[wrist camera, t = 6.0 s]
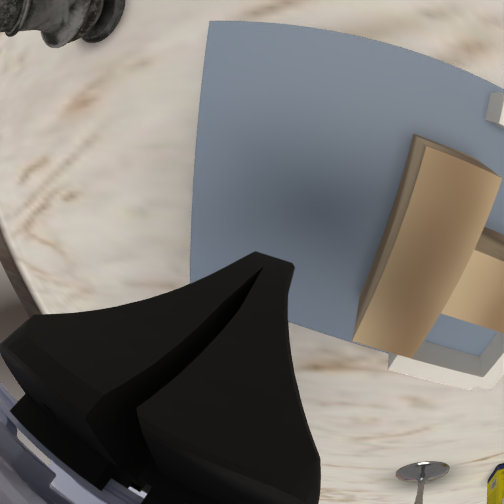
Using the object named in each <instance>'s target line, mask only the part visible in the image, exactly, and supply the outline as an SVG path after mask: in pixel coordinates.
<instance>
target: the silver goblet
mask: <svg viewBox="0 0 504 504" xmlns="http://www.w3.org/2000/svg"><path fill="white" fill-rule="evenodd" d="M449 469H450V468H449V466H448V465H447V464H445V463H442V462H420V463H415V464H410V465H407V466H405V467H402V468H400V469H399V470H398V471H397V472H396V477H397V478H398V479H400V480H402V481H406V482H418V491H417V496H416V500H415V503H414V504H423V490H424V484H425V482H426V481H431V480H435V479H437V478H440V477H442V476H444V475H445V474H447V473H448V471H449Z"/></svg>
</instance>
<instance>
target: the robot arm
mask: <svg viewBox="0 0 504 504" xmlns="http://www.w3.org/2000/svg"><path fill="white" fill-rule="evenodd" d="M294 270H295V266H294V265H293V263H291V262H288V261H285V260H282V259H279V258H275V257H272V256H269V255H266V254H263V253H260V252H257V251H254V252H252V253H251V254H249V255H247V256H245V257H243V258H241V259H239V260H237V261H235V262H234V263H232V264H230V265H228V266H226V267H224V268H222V269H220V270H218V271H216V272H214V273H212V274H210V275H208V276H206V277H204V278H202V279H200V280H197V281H195V282H193V283H190V284H188V285H186V286H184V287H181V288H179V289H176V290H173V291H170V292H168V293H165V294H162V295H159V296H155V297H152V298H149V299H146V300H142V301H137V302H133V303H129V304H125V305H121V306H117V307H112V308H106V309H100V310H93V311H86V312H78V313H65V314H45V315H33V316H32V317H31V318H30V319H28V320H27V321H26V322H25V323H24V324H22V325H21V326H20V327H19V328H18V329H17V330H15V331H14V332H13V333H12V334H11V335H10V336H9V337H8V338H6V339H5V340H4V341H3V342H2V343H1V344H0V353H1V355H2V358H3V359H4V361H5V363H6V364H7V366H8V368H9V369H10V371H11V373H12V374H13V376H14V377H15V379H16V380H17V382H18V383H19V385H20V386H21V388H22V389H23V390H24V392H25V393H26V394H25V395H24V396H23V397H22V398H21V399H20V400H19V401H17V400H16V399H15V398H14V397H13V396H12V395H11V393H10V392H9V391H8V390H7V389H6V388H5V387H4V386H3V385H2V384H1V382H0V504H318V502H319V496H320V484H321V467H320V456H319V453H318V451H317V448H316V446H315V443H314V440H313V438H312V435H311V432H310V429H309V426H308V423H307V420H306V416H305V413H304V410H303V406H302V403H301V399H300V395H299V390H298V386H297V382H296V378H295V374H294V368H293V362H292V356H291V349H290V341H289V329H288V293H289V289H290V285H291V281H292V278H293V274H294ZM16 427H17V428H18V429H19V430H20V431H21V432H22V433H23V434H24V435H25V436H26V437H27V438H28V439H29V440H30V441H31V442H32V443H33V444H34V445H35V446H36V447H37V448H38V449H40V451H42V452H43V453H44V454H45V455H46V456H47V457H48V458H49V459H50V462H51V464H50V465H49V467H48V466H47V465H46V464H45V463H44V462H42V461H41V460H40V459H39V458H38V457H37V456H36V455H35V454H34V453H33V452H32V451H30V450H29V449H28V448H27V447H26V446H25V445H24V444H23V443H22V442H21V441H20V440H19V439H18V438H17V428H16ZM52 481H53V483H54V485H55V487H54V486H52V485H51V484H50V483H51V482H52Z"/></svg>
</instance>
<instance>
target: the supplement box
mask: <svg viewBox="0 0 504 504" xmlns="http://www.w3.org/2000/svg"><path fill="white" fill-rule="evenodd" d="M487 504H504V464H502V465H498V466H497V468H496V469H495V471H494V472H493V474H492V475H491V477H490V478H489V480H488V485H487Z"/></svg>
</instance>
